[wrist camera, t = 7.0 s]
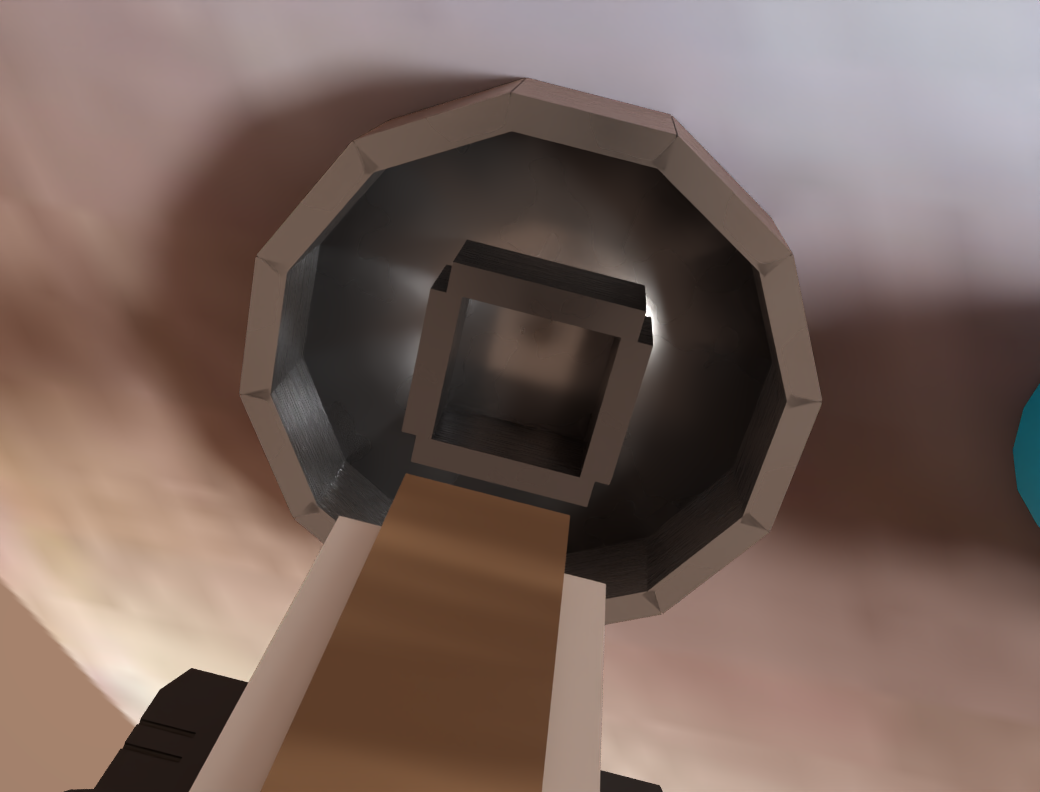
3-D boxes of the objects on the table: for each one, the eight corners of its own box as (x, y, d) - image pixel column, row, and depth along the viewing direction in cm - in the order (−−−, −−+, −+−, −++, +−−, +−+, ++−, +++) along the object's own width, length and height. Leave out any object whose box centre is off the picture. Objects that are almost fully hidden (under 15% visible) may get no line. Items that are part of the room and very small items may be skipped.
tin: (329, 27, 24) (282, 33, 21) (869, 165, 24) (906, 193, 21) (263, 496, 30) (219, 558, 27) (700, 609, 30) (708, 684, 27)
